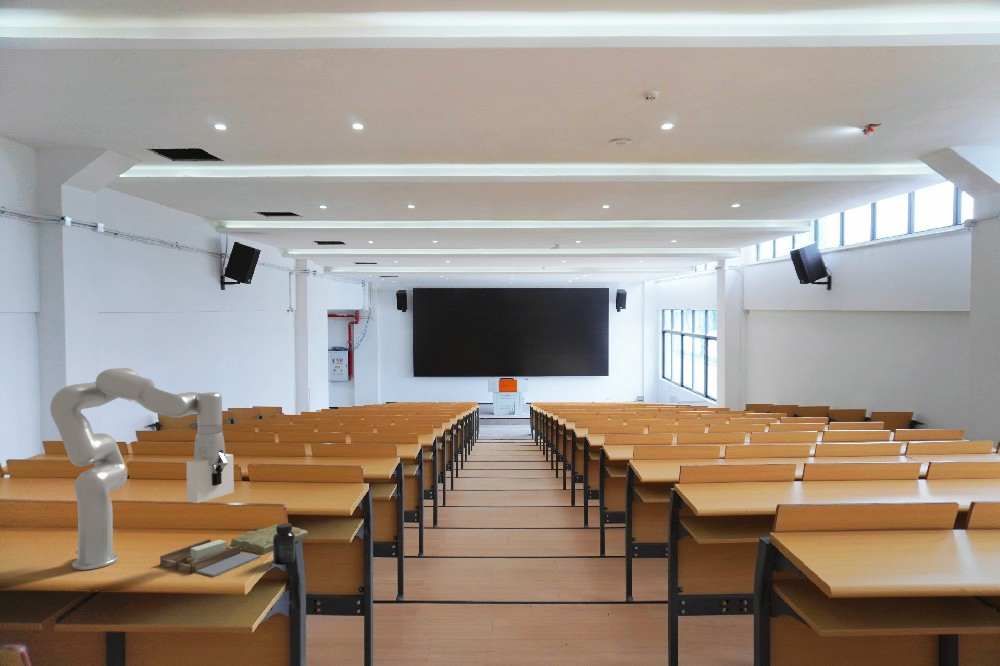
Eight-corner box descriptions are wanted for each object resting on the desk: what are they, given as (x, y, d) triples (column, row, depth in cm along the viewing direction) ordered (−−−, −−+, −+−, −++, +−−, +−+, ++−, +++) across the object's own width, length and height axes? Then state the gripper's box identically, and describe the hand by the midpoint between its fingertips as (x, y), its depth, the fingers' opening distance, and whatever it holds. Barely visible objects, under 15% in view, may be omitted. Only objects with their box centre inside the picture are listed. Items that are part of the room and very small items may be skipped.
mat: (196, 572, 187) (196, 570, 187) (243, 553, 203) (243, 552, 203) (213, 577, 183) (213, 575, 183) (260, 557, 199) (260, 555, 199)
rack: (160, 565, 193) (160, 556, 193) (208, 547, 209) (208, 539, 209) (192, 573, 186) (192, 564, 186) (240, 554, 202) (240, 545, 202)
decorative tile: (308, 538, 220) (308, 528, 220) (264, 555, 202) (264, 545, 202) (273, 530, 229) (273, 521, 229) (228, 547, 211) (228, 537, 211)
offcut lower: (186, 567, 192) (186, 558, 192) (218, 555, 202) (218, 546, 202) (194, 569, 190) (194, 560, 190) (226, 557, 201) (226, 548, 201)
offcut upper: (190, 557, 193) (190, 548, 193) (220, 548, 201) (220, 539, 201) (196, 559, 190) (196, 550, 190) (226, 550, 198) (226, 541, 198)
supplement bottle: (275, 558, 198) (275, 522, 198) (296, 556, 200) (296, 521, 200) (271, 566, 192) (271, 529, 192) (293, 564, 193) (293, 527, 193)
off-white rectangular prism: (187, 501, 191) (186, 461, 191) (223, 491, 204) (223, 453, 204) (197, 503, 189) (196, 462, 189) (233, 492, 202) (233, 454, 202)
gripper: (182, 430, 197) (183, 484, 197) (218, 432, 190) (219, 489, 189) (202, 426, 204) (203, 479, 203) (237, 429, 196) (238, 483, 196)
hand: (210, 483), depth 196 cm, fingers closed on off-white rectangular prism, 4 cm apart
